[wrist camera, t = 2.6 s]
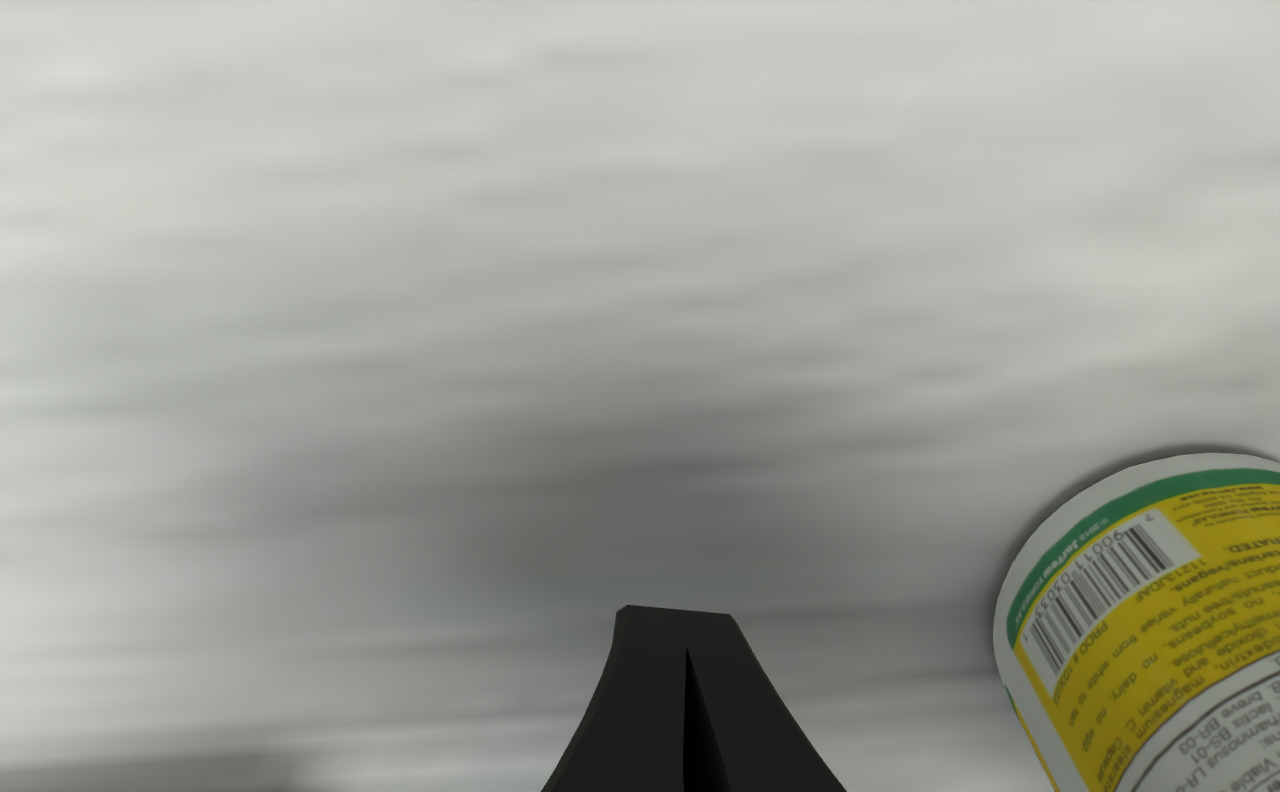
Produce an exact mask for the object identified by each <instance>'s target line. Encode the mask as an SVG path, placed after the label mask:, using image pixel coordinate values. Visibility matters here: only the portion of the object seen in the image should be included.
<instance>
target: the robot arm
mask: <svg viewBox="0 0 1280 792" xmlns="http://www.w3.org/2000/svg"><path fill="white" fill-rule="evenodd" d="M541 792H847V791H846V790H845V789H844V787H843V786H842V785H841V783H840V782H839V781H838V780H837V778H836V777H835V776H834V774H833V773H832V772H831V771H830V769H829V768H828V767H827V765H826V764H825V762H824V761H823V760H822V758H821V757H820V756H819V754H818V753H817V751H816V750H815V749H814V747H813V746H812V744H811V743H810V741H809V740H808V738H807V737H806V736H805V734H804V733H803V731H802V730H801V728H800V727H799V725H798V724H797V722H796V721H795V719H794V718H793V716H792V715H791V713H790V712H789V710H788V709H787V707H786V706H785V704H784V703H783V701H782V700H781V698H780V697H779V695H778V693H777V692H776V690H775V689H774V687H773V685H772V684H771V682H770V680H769V679H768V677H767V675H766V674H765V672H764V670H763V669H762V667H761V665H760V664H759V662H758V660H757V659H756V657H755V655H754V653H753V652H752V650H751V648H750V646H749V644H748V643H747V641H746V639H745V637H744V635H743V634H742V632H741V630H740V628H739V626H738V624H737V623H736V622H735V620H734V619H733V618H732V617H731V615H730V614H720V613H709V612H698V611H688V610H677V609H666V608H656V607H645V606H634V605H626V606H625V607H623V608H622V609H621V610H619V611H618V612H617V613H616V621H615V628H614V635H613V643H612V647H611V650H610V654H609V657H608V660H607V662H606V665H605V668H604V671H603V674H602V676H601V679H600V681H599V683H598V685H597V688H596V690H595V692H594V694H593V697H592V699H591V701H590V703H589V706H588V708H587V710H586V713H585V715H584V717H583V719H582V721H581V723H580V725H579V727H578V728H577V730H576V732H575V734H574V736H573V737H572V739H571V741H570V743H569V745H568V747H567V748H566V750H565V752H564V754H563V756H562V757H561V759H560V761H559V763H558V765H557V766H556V768H555V770H554V771H553V773H552V775H551V776H550V778H549V780H548V781H547V783H546V784H545V786H544V788H543V789H542V791H541Z"/></svg>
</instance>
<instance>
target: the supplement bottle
mask: <svg viewBox="0 0 1280 792" xmlns="http://www.w3.org/2000/svg"><path fill="white" fill-rule="evenodd" d="M993 645H994V655H995V659H996V663H997V667H998V671H999V674H1000V677H1001V680H1002V683H1003V685H1004V688H1005V690H1006V692H1007V694H1008V696H1009V699H1010V701H1011V703H1012V705H1013V708H1014V711H1015V713H1016V715H1017V717H1018V719H1019V720H1020V722H1021V724H1022V726H1023V728H1024V730H1025V731H1026V733H1027V735H1028V737H1029V739H1030V741H1031V744H1032V746H1033V748H1034V750H1035V752H1036V754H1037V756H1038V759H1039V761H1040V763H1041V765H1042V767H1043V769H1044V771H1045V773H1046V775H1047V777H1048V779H1049V781H1050V783H1051V785H1052V787H1053V789H1054V790H1055V792H1280V463H1277V462H1274V461H1271V460H1268V459H1264V458H1260V457H1256V456H1252V455H1245V454H1229V453H1198V454H1188V455H1179V456H1173V457H1170V458H1165V459H1160V460H1154V461H1151V462H1147V463H1143V464H1139V465H1135V466H1131V467H1128V468H1126V469H1124V470H1122V471H1119V472H1117V473H1115V474H1113V475H1111V476H1109V477H1106V478H1105V479H1103V480H1101V481H1099V482H1098V483H1096V484H1094V485H1092V486H1091V487H1089V488H1087V489H1085V490H1084V491H1082V492H1080V493H1079V494H1077V495H1076V496H1074V497H1073V498H1072V499H1070V500H1069V501H1068V502H1066V503H1065V504H1063V505H1062V506H1061V507H1060V508H1059V509H1058V510H1056V511H1055V512H1054V513H1053V514H1052V515H1051V516H1050V517H1049V518H1048V519H1046V520H1045V521H1044V522H1043V523H1042V524H1041V525H1040V526H1039V527H1038V529H1037V530H1036V531H1035V532H1034V533H1033V534H1032V535H1031V537H1030V538H1029V539H1028V540H1027V542H1026V543H1025V545H1024V546H1023V548H1022V549H1021V551H1020V552H1019V554H1018V555H1017V557H1016V558H1015V560H1014V561H1013V563H1012V565H1011V567H1010V569H1009V571H1008V574H1007V576H1006V578H1005V580H1004V583H1003V585H1002V588H1001V591H1000V594H999V597H998V600H997V605H996V610H995V615H994V627H993Z"/></svg>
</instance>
